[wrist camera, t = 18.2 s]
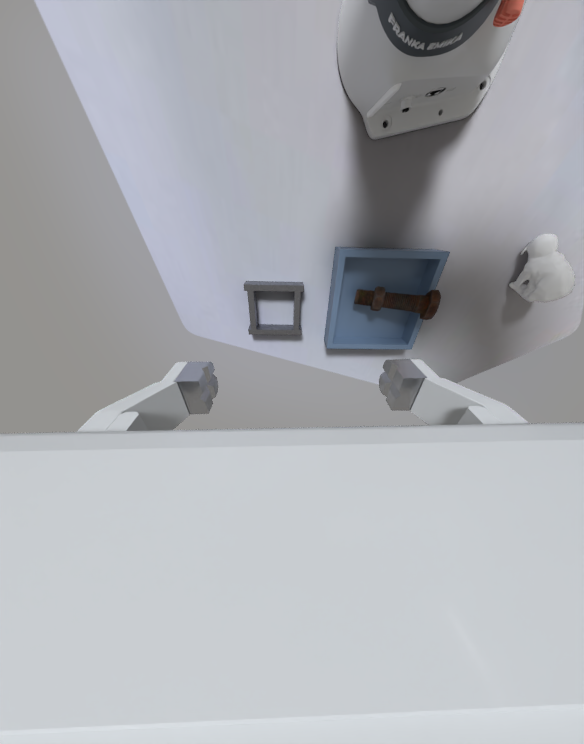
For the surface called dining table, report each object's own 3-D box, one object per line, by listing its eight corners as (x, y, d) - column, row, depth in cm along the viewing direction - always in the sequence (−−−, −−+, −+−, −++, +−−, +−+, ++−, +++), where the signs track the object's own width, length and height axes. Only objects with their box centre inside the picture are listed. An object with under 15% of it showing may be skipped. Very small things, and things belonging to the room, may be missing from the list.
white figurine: (544, 309, 40) (553, 242, 35) (505, 300, 48) (508, 243, 42) (585, 295, 39) (600, 222, 33) (538, 288, 46) (545, 227, 41)
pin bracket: (302, 282, 45) (303, 285, 42) (300, 329, 51) (301, 335, 48) (246, 281, 44) (243, 284, 42) (250, 329, 51) (248, 334, 48)
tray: (435, 249, 42) (449, 251, 38) (402, 340, 53) (411, 349, 49) (335, 246, 41) (340, 249, 37) (324, 339, 53) (326, 348, 49)
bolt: (357, 287, 47) (431, 296, 43) (352, 310, 47) (425, 320, 44) (358, 279, 41) (444, 288, 38) (353, 306, 42) (436, 317, 38)
